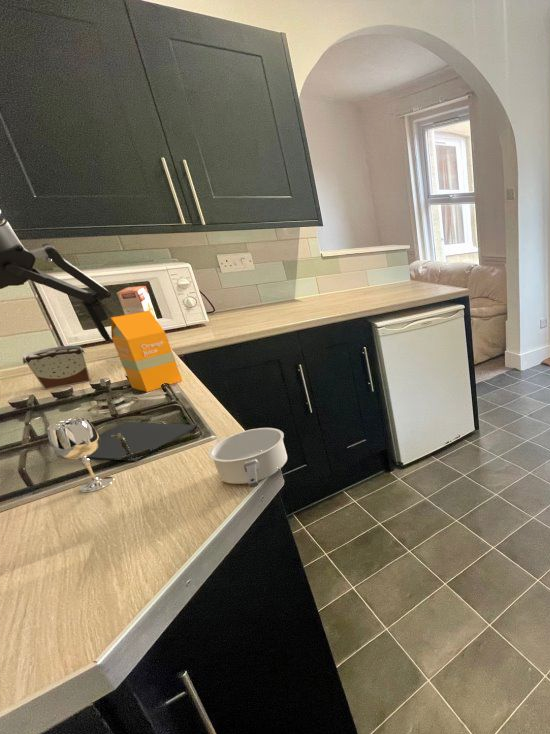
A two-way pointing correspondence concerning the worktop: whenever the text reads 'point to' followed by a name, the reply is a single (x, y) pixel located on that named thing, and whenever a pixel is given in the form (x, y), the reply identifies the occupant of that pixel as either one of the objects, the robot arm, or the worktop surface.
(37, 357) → the food container
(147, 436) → the mat
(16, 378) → the worktop surface
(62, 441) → the wineglass
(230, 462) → the saucepan
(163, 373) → the orange juice
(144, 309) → the cracker box
